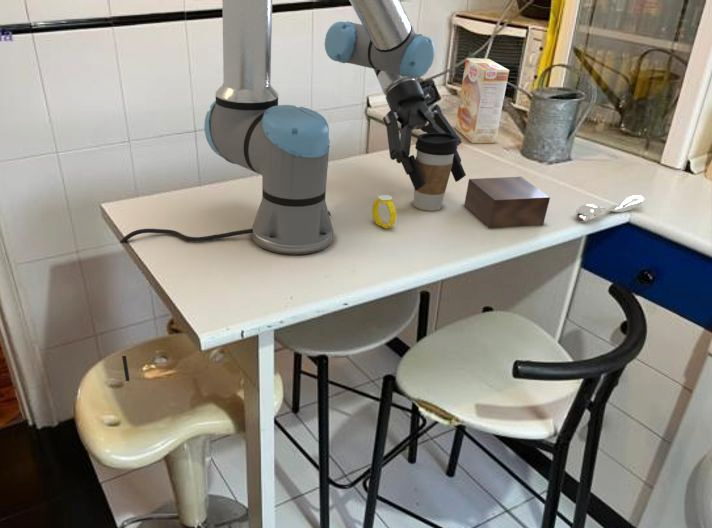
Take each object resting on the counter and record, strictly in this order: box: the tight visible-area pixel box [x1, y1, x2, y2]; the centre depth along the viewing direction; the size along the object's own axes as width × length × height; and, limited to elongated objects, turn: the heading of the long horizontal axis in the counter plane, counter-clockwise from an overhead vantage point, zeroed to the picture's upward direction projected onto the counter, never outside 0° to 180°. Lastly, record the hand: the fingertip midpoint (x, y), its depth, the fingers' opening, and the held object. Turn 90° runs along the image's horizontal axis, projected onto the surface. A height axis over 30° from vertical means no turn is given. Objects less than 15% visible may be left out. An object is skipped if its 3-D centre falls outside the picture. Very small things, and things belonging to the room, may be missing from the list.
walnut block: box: [463, 176, 551, 229], centre depth 136 cm, size 12×12×6 cm
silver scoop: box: [574, 195, 645, 223], centre depth 139 cm, size 20×4×5 cm
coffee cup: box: [413, 132, 458, 212], centre depth 137 cm, size 8×8×15 cm
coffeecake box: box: [454, 57, 510, 144], centre depth 181 cm, size 15×7×20 cm, turn 6°
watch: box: [371, 194, 397, 229], centre depth 129 cm, size 6×3×6 cm, turn 31°
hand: (440, 182), depth 135 cm, fingers open, 10 cm apart
